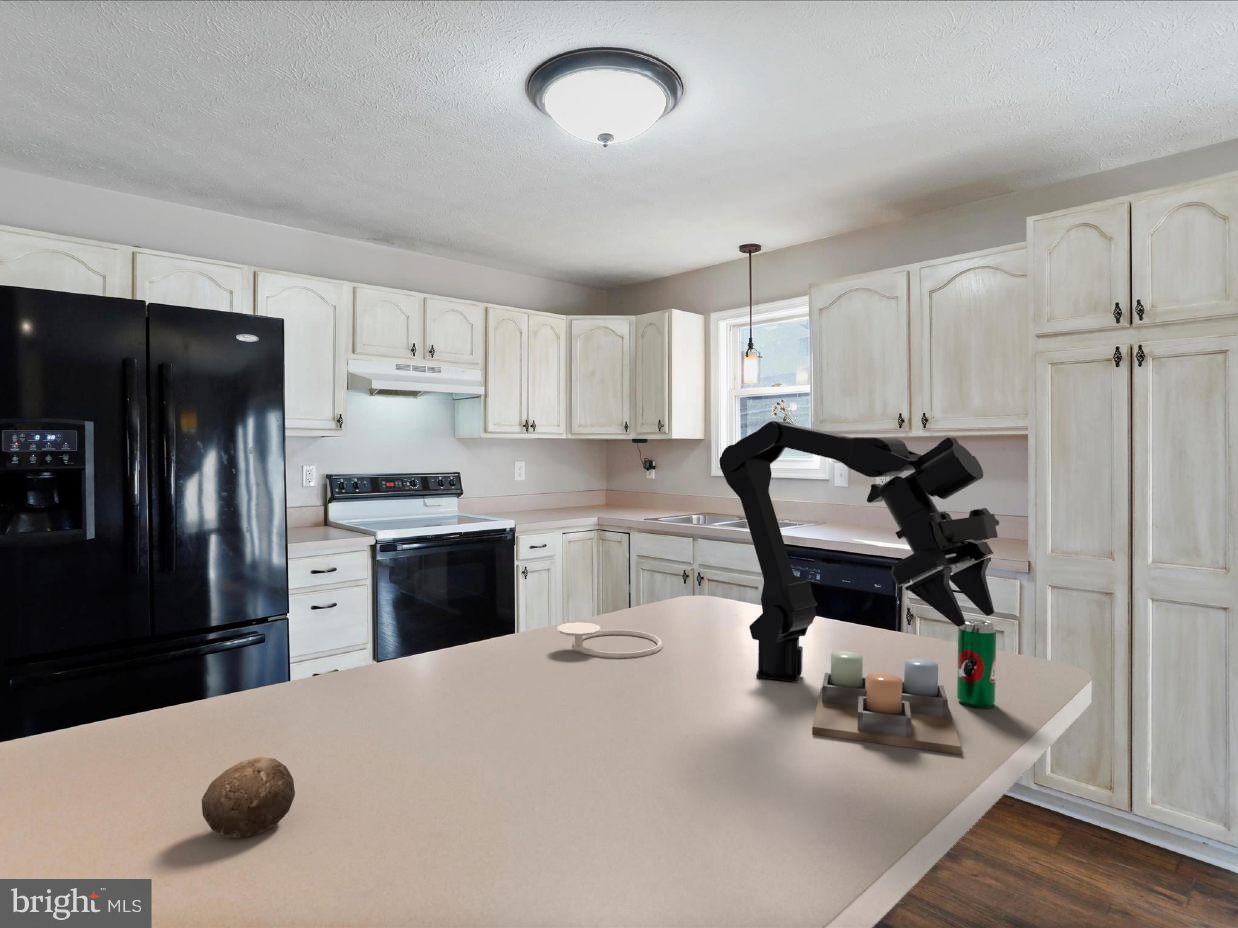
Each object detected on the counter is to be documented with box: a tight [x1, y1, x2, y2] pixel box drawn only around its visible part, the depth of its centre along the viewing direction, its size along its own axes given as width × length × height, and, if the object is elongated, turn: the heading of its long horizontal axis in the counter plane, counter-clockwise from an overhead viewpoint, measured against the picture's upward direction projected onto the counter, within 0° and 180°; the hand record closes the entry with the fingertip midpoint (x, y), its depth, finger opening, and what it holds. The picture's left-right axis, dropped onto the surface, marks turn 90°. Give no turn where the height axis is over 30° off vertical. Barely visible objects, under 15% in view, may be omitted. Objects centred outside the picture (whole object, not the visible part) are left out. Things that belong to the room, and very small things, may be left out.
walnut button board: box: [811, 672, 962, 755], centre depth 98 cm, size 18×16×3 cm
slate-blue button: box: [903, 657, 939, 696], centre depth 101 cm, size 4×4×4 cm
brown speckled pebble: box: [201, 756, 296, 839], centre depth 70 cm, size 8×8×6 cm
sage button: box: [830, 650, 864, 688], centre depth 104 cm, size 4×4×4 cm
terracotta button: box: [866, 672, 903, 714], centre depth 94 cm, size 4×4×4 cm
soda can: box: [956, 618, 997, 709], centre depth 105 cm, size 5×5×12 cm
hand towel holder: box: [556, 621, 664, 659], centre depth 134 cm, size 17×4×20 cm
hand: (977, 619), depth 94 cm, fingers open, 9 cm apart
